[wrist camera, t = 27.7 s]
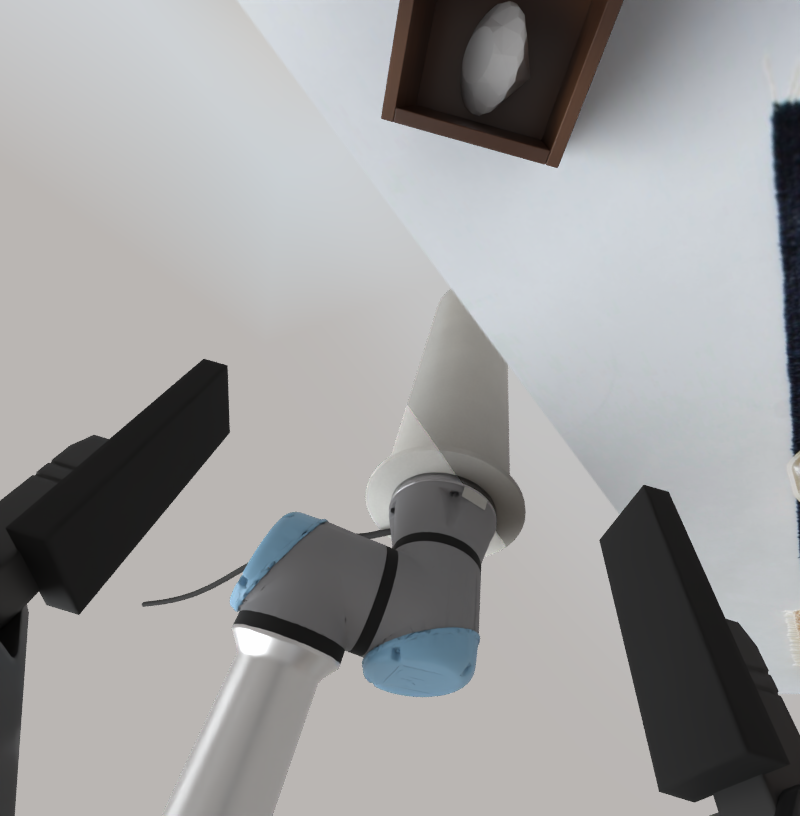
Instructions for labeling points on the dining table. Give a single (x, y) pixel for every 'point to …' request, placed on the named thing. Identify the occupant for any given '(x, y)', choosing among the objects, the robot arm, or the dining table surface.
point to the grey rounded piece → (495, 59)
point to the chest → (526, 107)
